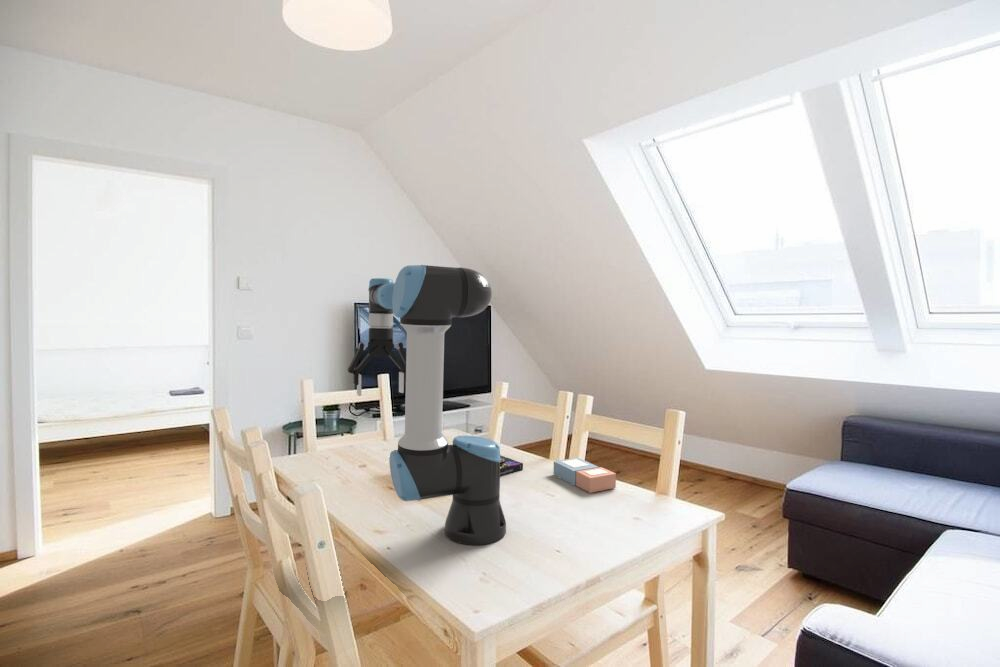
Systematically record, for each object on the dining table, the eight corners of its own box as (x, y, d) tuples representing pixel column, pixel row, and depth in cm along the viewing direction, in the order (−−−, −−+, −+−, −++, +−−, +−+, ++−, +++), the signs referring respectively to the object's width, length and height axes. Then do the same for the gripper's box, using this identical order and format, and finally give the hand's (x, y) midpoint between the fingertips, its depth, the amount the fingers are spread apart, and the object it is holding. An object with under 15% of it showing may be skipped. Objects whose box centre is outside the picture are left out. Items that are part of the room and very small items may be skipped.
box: (479, 485, 159) (523, 471, 172) (479, 474, 159) (523, 461, 171) (453, 473, 169) (497, 461, 182) (453, 463, 169) (497, 452, 182)
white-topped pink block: (615, 487, 155) (616, 473, 155) (590, 492, 151) (590, 477, 150) (600, 480, 162) (601, 466, 161) (575, 485, 157) (576, 470, 157)
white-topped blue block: (599, 481, 162) (600, 467, 162) (574, 485, 157) (575, 471, 157) (577, 470, 173) (577, 457, 172) (553, 474, 168) (553, 460, 168)
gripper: (414, 326, 168) (414, 389, 169) (338, 327, 156) (337, 394, 157) (422, 327, 161) (421, 393, 162) (343, 327, 149) (342, 398, 150)
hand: (380, 393), depth 159 cm, fingers open, 13 cm apart
